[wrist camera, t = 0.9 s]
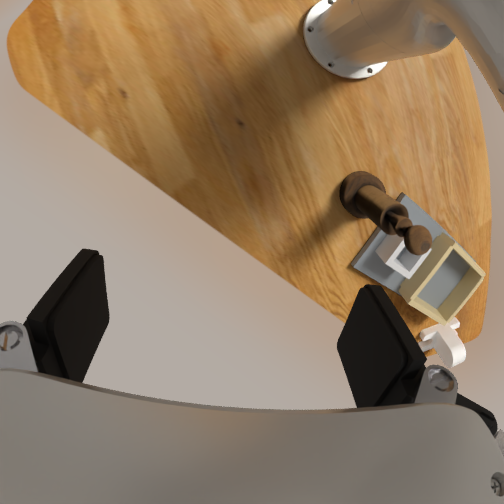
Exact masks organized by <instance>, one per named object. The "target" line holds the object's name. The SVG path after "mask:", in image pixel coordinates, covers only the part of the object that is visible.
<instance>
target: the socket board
mask: <svg viewBox="0 0 504 504" xmlns="http://www.w3.org/2000/svg"><path fill="white" fill-rule="evenodd" d="M396 201H398V202H399V203H401V204H403V205H404V206H405V207H406V208H407V210H408V214H409V219H410V220H411V221H412V223H413V225H422V226H424V227H426V228H427V229H428V230H429V232H430V234H431V236H432V245H431V248H430V249H429V251H428V252H427V253H425V254H423V255H413V254H411V253H410V252H409V251H408V250H407V249H406V247H405V244H404V237H399V236H398V235H397V234H396V235H388V234H386V233H384V232H383V231H382V230H381V229H380V228H379V227H377V229H376V230H375V232H374V233H373V234H372V236H371V237H370V238H369V240H368V241H367V243H366V244H365V245H364V247H363V248H362V249H361V251H360V252H359V253H358V255H357V256H356V257H355V259H354V260H353V261H352V263H351V265H352V266H353V267H354V268H356V269H357V270H359V271H361V272H362V273H364V274H366V275H367V276H369V277H371V278H372V279H374V280H376V281H377V282H379V283H381V284H382V285H384V286H386V287H387V288H389V289H391V290H392V291H394V292H396V293H397V294H399V295H401V296H402V297H403V298H404V299H405V301H406V302H407V303H408V304H409V305H411V306H412V307H414V308H416V309H417V310H419V311H421V312H422V313H424V314H425V315H427V316H429V317H430V318H432V319H434V320H435V321H437V322H438V323H440V324H442V325H443V326H445V325H446V324H447V323H449V322H450V321H451V320H452V319H453V318H454V316H455V315H456V314H457V313H458V312H459V311H460V309H461V308H462V307H463V306H464V304H465V303H466V302H467V301H468V299H469V298H470V297H471V296H472V294H473V293H474V292H475V290H476V289H477V288H478V286H479V285H480V284H481V282H482V281H483V280H484V279H483V277H484V276H485V275H486V273H485V272H484V271H483V270H482V269H481V268H480V267H479V266H478V265H477V264H476V261H475V260H474V259H473V258H472V257H471V256H470V255H469V254H468V253H467V252H466V251H465V250H464V249H463V248H462V247H461V246H460V245H459V244H458V243H457V242H456V241H455V240H454V239H453V238H452V237H451V236H450V235H449V234H448V233H447V232H446V231H445V230H444V229H443V228H442V227H441V226H440V225H439V224H438V223H437V222H436V221H435V220H434V219H432V218H431V217H430V216H429V215H428V214H427V213H426V212H425V211H424V210H423V209H421V208H420V207H419V206H418V205H417V204H416V203H415V202H413V201H412V200H411V199H410V198H409V197H408V196H407V195H405V194H404V193H401V194H400V196H399V197H398V199H397V200H396Z"/></svg>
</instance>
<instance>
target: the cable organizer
mask: <svg viewBox="0 0 504 504" xmlns="http://www.w3.org/2000/svg"><path fill="white" fill-rule="evenodd" d="M459 326H460V322H459V321H458V320H457V319H456V317H454V318H453V319H452V320H451V321H450V322H449V323H447V324H446V325H445V326H443V325H442V324H440V323H439V324H436V325H434V326H431V327H429V328H426V329H423V330H422V331H421V332H420V337H421V339H422V341H421V342H418V345H419V346H420V348H421V350H422V351H423V352H424V351H427V350H429V349H432V348H434V349H435V350H436V352H437V353H438V355H439V356H440V358H441V359H442V361H443V362H444V364H445V365H446V366H447V367H448V368H451V367H453V366H455V365H457V364H459V363H461V362H463V361H464V360H465V358H466V351H465V347H464V344H463V343H462V341H461V340H460V339H459V337H458V336H457V334H458V333H457V332H456V331H455V329H456V328H458V327H459Z"/></svg>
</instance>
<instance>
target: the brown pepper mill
mask: <svg viewBox="0 0 504 504" xmlns="http://www.w3.org/2000/svg"><path fill="white" fill-rule="evenodd" d="M340 200H341V203H342V205H343V206H344V208H345V209H346V210H347V211H348V212H349V213H351V214H352V215H353V216H355V217H357V218H369V219H371V220H372V221H373V222H374V223H375V224H376V225H377V226H378V227H379V228H380V229H381V230H382V231H383V232H384V233H386V234H388V235H396V234H397V235H398V236H399V237H404V244H405V247H406V249H407V250H408V251H409V252H410V253H411V254H413V255H423V254H425V253H427V252H428V251H429V249H430V248H431V245H432V236H431V234H430V232H429V230H428V229H427V228H426V227H424V226H422V225H413V223H412V221H411V220H410V219H409V214H408V210H407V208H406V207H405V206H404V205H403V204H401V203H399V202H398V201H396V200H395V199H393V198H392V197H390V196H389V195H387V194H386V191H385V187H384V185H383V183H382V182H381V181H380V180H379V179H378V178H377V177H375V176H374V175H372V174H370V173H368V172H364V171H357V172H354V173H352V174H350V175H349V176H347V177H346V178H345V179H344V181H343V182H342V184H341V187H340Z"/></svg>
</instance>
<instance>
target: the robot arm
mask: <svg viewBox="0 0 504 504" xmlns="http://www.w3.org/2000/svg"><path fill="white" fill-rule="evenodd" d="M328 3H330V4H328ZM308 29H310V30H311V32H309V31H308ZM303 36H304V40H305V44H306V46H307V48H308V50H309V52H310V54H311V55H312V56H313V58H314V59H315V60H316V61H317V62H318V63H319V64H320V65H321V66H322V67H323V68H325V69H326V70H327V71H329V72H331V73H333V74H335V75H337V76H340V77H344V78H349V79H361V78H367V77H370V76H373V75H375V74H377V73H378V72H380V71H381V70H382V69H383V68H384V67H385V66H386V64H387V63H388V61H393V60H398V59H403V58H408V57H414V56H420V55H425V54H431V53H435V52H438V51H440V50H442V49H444V48H445V47H447V46H448V45H449V44H450V43H451V42H452V41H453V39H454V38H455V37H457V38H458V40H459V41H460V42H461V44H462V45H463V47H464V48H465V49H466V50H467V51H468V52H469V54H470V55H471V57H472V58H473V60H474V62H475V63H476V65H477V66H478V68H479V69H480V71H481V73H482V74H483V76H484V78H485V79H486V81H487V83H488V84H489V86H490V88H491V90H492V92H493V93H494V95H495V97H496V99H497V101H498V103H499V104H500V106H501V108H502V110H503V111H504V0H321V1H319V2H318V3H316V4H315V5H314V6H313V7H312V8H311V9H310V11H309V12H308V13H307V15H306V18H305V20H304V25H303ZM328 64H330V65H331V67H329V66H328ZM367 70H368V71H369V72H367ZM108 323H109V309H108V300H107V292H106V283H105V272H104V260H103V256H102V255H99V252H98V251H96V250H90V249H82V250H81V251H80V252H79V253H78V254H77V255H76V257H75V258H74V259H73V260H72V261H71V263H70V264H69V265H68V266H67V267H66V268H65V270H64V271H63V272H62V273H61V274H60V275H59V277H58V278H57V279H56V281H55V282H54V283H53V284H52V285H51V287H50V288H49V289H48V291H47V292H46V293H45V294H44V295H43V297H42V298H41V299H40V301H39V302H38V303H37V305H36V306H35V307H34V309H33V310H32V311H31V313H30V314H29V315H28V317H27V320H26V321H25V322H24V324H23V325H22V324H21V323H18V322H14V321H9V322H4V323H1V324H0V504H504V432H503V431H502V430H501V429H500V430H499V431H498V432H497V422H496V419H495V417H494V415H493V414H492V413H491V412H490V411H488V410H487V409H485V408H483V407H481V406H480V405H478V404H476V403H475V402H473V401H471V400H469V399H467V398H466V397H464V396H462V395H460V394H458V393H457V389H458V383H457V380H456V378H455V377H454V375H453V374H452V373H451V372H450V371H449V370H448V369H446V368H444V367H442V366H439V365H430V366H428V367H427V368H426V367H425V365H424V363H425V362H426V360H427V358H426V357H425V355H424V353H423V351H422V350H421V348H420V346H419V345H418V343H417V341H416V340H415V338H414V336H413V335H412V333H411V332H410V330H409V328H408V327H407V325H406V324H405V322H404V320H403V319H402V317H401V316H400V314H399V312H398V311H397V309H396V308H395V306H394V305H393V303H392V302H391V300H390V299H389V297H388V296H387V294H386V293H385V291H384V290H383V288H382V287H381V286H379V285H370V284H366V285H365V286H364V287H363V288H360V290H359V292H358V294H357V297H356V299H355V302H354V304H353V307H352V309H351V311H350V314H349V316H348V319H347V321H346V323H345V326H344V328H343V330H342V332H341V335H340V337H339V339H338V342H337V350H338V353H339V356H340V358H341V361H342V364H343V367H344V370H345V373H346V376H347V379H348V382H349V385H350V388H351V391H352V394H353V397H354V400H355V403H356V406H357V408H349V409H329V410H328V409H326V410H274V409H249V408H235V407H222V406H211V405H201V404H193V403H185V402H177V401H170V400H163V399H157V398H151V397H145V396H140V395H135V394H129V393H125V392H119V391H115V390H110V389H106V388H101V387H97V386H92V385H88V384H84V383H82V382H83V380H84V378H85V375H86V373H87V370H88V368H89V366H90V363H91V361H92V359H93V356H94V354H95V352H96V350H97V347H98V345H99V343H100V341H101V338H102V336H103V334H104V332H105V330H106V328H107V326H108Z"/></svg>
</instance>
